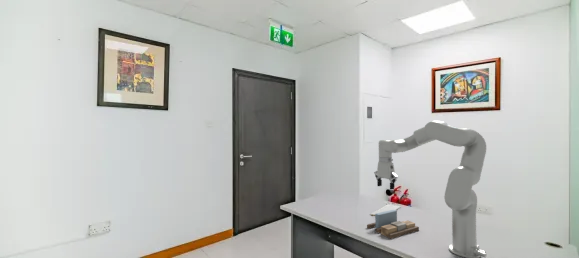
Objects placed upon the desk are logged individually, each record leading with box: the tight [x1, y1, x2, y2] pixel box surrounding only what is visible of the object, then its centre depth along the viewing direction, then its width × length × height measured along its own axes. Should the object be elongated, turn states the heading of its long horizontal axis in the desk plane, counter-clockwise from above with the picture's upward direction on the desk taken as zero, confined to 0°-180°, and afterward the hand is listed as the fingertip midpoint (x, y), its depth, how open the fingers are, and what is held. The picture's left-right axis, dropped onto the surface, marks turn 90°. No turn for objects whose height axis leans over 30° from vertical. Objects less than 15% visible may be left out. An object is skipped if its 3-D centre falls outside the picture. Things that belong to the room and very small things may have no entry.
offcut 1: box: [380, 224, 397, 238], centre depth 139 cm, size 5×7×4 cm
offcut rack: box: [366, 220, 420, 240], centre depth 146 cm, size 18×24×2 cm
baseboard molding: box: [369, 202, 402, 217], centre depth 180 cm, size 31×3×12 cm
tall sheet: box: [374, 210, 398, 229], centre depth 150 cm, size 2×16×9 cm, turn 117°
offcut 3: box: [403, 220, 416, 229], centre depth 146 cm, size 5×7×4 cm
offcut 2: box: [391, 220, 406, 232], centre depth 142 cm, size 5×7×5 cm
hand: (385, 187), depth 151 cm, fingers open, 9 cm apart
